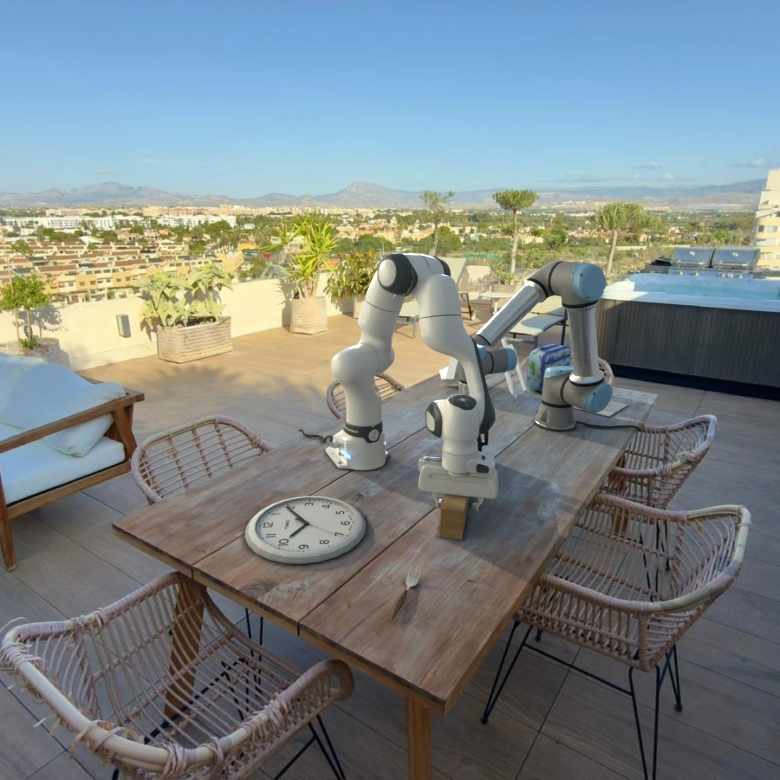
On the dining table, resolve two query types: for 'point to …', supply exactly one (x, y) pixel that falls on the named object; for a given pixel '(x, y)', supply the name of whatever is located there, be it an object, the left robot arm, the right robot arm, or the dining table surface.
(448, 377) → the white plastic object
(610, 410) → the invitation card
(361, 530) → the wall clock
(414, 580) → the fork
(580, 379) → the right robot arm
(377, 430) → the left robot arm
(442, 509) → the bar
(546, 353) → the lunch box
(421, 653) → the dining table surface
